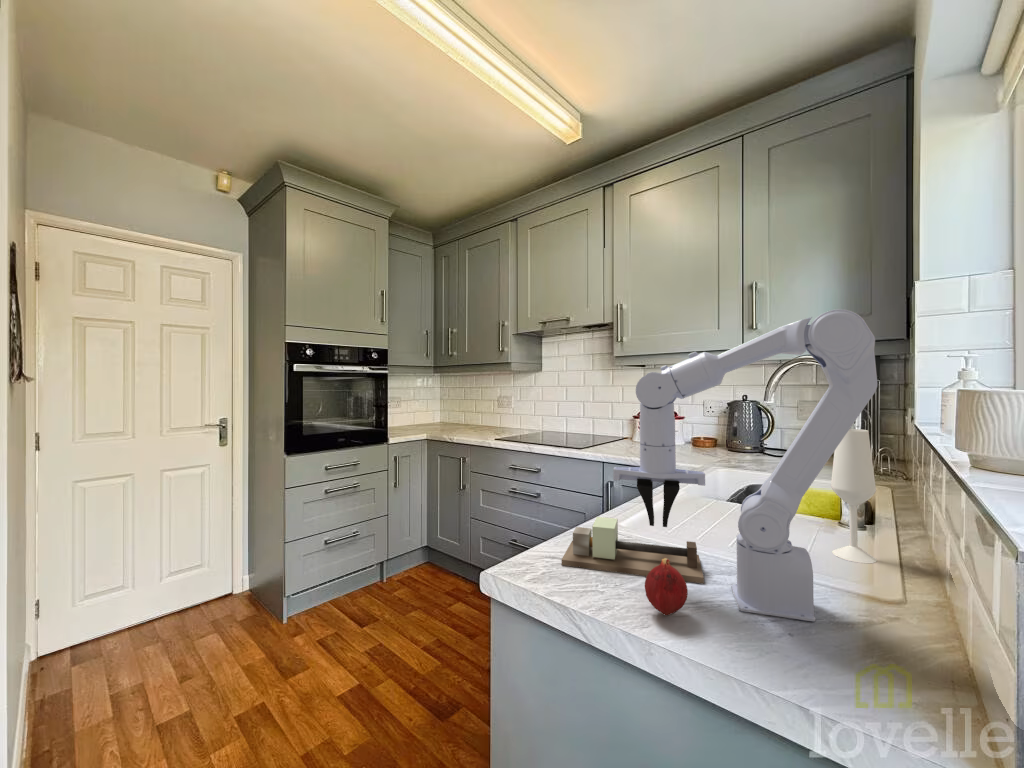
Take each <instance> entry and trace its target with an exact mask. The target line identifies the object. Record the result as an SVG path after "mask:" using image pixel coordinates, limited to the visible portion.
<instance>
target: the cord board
mask: <svg viewBox="0 0 1024 768" xmlns="http://www.w3.org/2000/svg"><path fill="white" fill-rule="evenodd" d="M616 549H617V553H616V557H615V560H614V559H606V558H598V557H593V544H592V528H591V527H590V528H589V527H580V526H575V529H574V530H573V531H572V541H570V544H569V546H568V547H567V549H566V551H565V553H564V554H563V556H562V558H561V566H565V567H572V568H573V567H574V568H582V569H589V570H597V571H605V572H612V573H620V574H628V575H633V576H634V575H635V576H643V577H647V575H648V573H649V572H650V571H651V570H652V569H653V568H654V567H656V566H658V565H660V564H661V562H662V559H664V558H667V559H668V560H670V562H669V563H670V565H671V566H672V567H674V568H675V569H676V570H677V571H678V572H679V573H680V574H681V575H682V577H683V578H684V580H685V582H686V583H694V584H695V583H696V584H705V583H704V582H705V581H704V580H705V579H704V578H705V577H704V573H703V569H702V564H701V560H700V556H699V554H698V547H697V544H696V542H695V541H689V540H687V541H686V547H677V546H676V547H675V546H667V545H657V544H650V543H648V544H647V543H639V542H629V541H620V540H618V541H616Z"/></svg>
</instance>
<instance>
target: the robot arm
mask: <svg viewBox="0 0 1024 768" xmlns="http://www.w3.org/2000/svg"><path fill="white" fill-rule="evenodd" d="M812 318H813V316H810V317H807V318H806V317H805V318H801V319H799V320H797V321H794V322H791V323H788V324H784V325H781V326H779V327H777V328H775V329H773V330H770V331H768V332H766V333H764V334H761V335H759V336H757V337H755V338H753V339H751V340H747V341H746V342H744V343H741V344H740V345H737V346H735V347H732V348H731V349H727V350H726V351H723V352H722V353H720V354H717V355H716V354H713V353H710V352H708V351H707V352H706V351H703V352H700V353H698V351H694V352H690V353H689V354H687V356H688V358H686V359H684V360H681V361H679V362H677V363H675V364H672V365H669V366H668V365H666V364H665V365H662V366H660V371H661V373H660V372H657V371H649V372H647V373H646V374H645V375H643V376H642V377H641V378H640V379H639V380H638V381H637V383H636V386H635V395H636V398H637V400H638V401H639V466H630V467H629V466H627V467H626V466H623V467H622V466H614V467H613V471H612V472H613V473H612V475H613V478H612V479H613V481H621V480H624V481H636V489H637V490H638V492H639V493H638V494H640V497H641V499H642V501H643V504H644V506H645V509H646V512H647V516H648V523H649V526H650V527H654V526H655V511H654V503H653V501H654V499H653V498H654V496H653V495H654V491H653V490H654V489H653V488H654V487H653V486H654V484H653V483H654V482H658V483H662V484H663V506H662V507H663V509H662V510H663V511H662V527H663V528H668V522H669V516H670V512H671V510H672V507H673V505H674V502H675V500H676V497H678V495H679V492H680V489H681V487H680V484H687V485H688V484H690V485H697V486H706V473H705V471H700V470H699V471H698V470H691V469H690V470H689V469H680V468H677V467H676V466H677V463H676V462H677V461H676V459H677V458H676V457H677V456H676V455H677V454H676V453H677V450H676V449H677V448H676V417H675V403H674V402H675V401H676V400H677V398H678V399H680V400H683V399H686V398H688V397H691V396H694V395H697V394H699V393H703V392H704V391H707V390H710V389H711V388H715V387H717V386H720V385H721V384H722V382H723V380H724V377H725V375H726V374H727V373H729V372H732V371H735V370H738V369H740V368H743V367H746V366H749V365H751V364H755V363H757V362H759V361H763V360H766V359H769V358H771V357H774V356H776V355H781V354H782V355H784V354H785V355H799V356H800V355H803V354H804V353H806V351H807V353H808V354H809V355H810V356H811V357H812V358H813V359H814V360H815V361H816V362H817V363H818V364H819V365H820V367H821V370H822V372H823V374H824V376H825V379H826V381H827V384H828V387H827V390H826V391H825V392H824V393H823V395H822V397H821V398H820V400H819V401H818V403H817V404H816V406H815V407H814V409H813V411H812V412H811V413H810V415H809V417H808V418H807V420H806V421H805V422H804V424H803V426H802V427H801V428H800V430H799V432H798V433H797V435H796V436H795V438H794V439H793V441H792V442H791V444H790V445H789V446H788V448H787V450H786V451H785V453H784V454H783V456H782V457H781V459H780V460H779V462H778V464H777V465H776V467H774V470H773V471H772V473H771V474H770V476H769V477H767V479H766V480H765V481H764V482H763V483H762V485H761V486H760V488H759V489H758V490H756V491H755V492H754V493H752V494H749V495H748V496H746V497H745V498H744V499H743V501H742V502H741V506H740V516H739V517H738V521H737V527H738V531H739V534H737V535H736V583H732V584H731V585H730V588H731V590H732V594H733V596H734V600H735V602H736V605H737V606H736V607H737V608H738V610H739V611H740V612H745V613H752V614H759V615H766V616H773V617H780V618H786V619H787V618H788V619H793V620H801V621H805V622H807V621H808V622H816V617H815V614H814V612H815V611H814V610H815V609H814V608H815V607H814V605H815V604H814V570H813V563H812V559H811V556H810V553H809V551H808V550H807V549H806V548H805V547H802V546H801V547H800V546H795V545H793V544H792V541H791V540H789V539H790V528H791V527H790V525H791V522H792V520H793V519H794V517H795V516H796V514H797V512H798V510H799V507H800V504H801V502H802V499H803V498H804V496H805V494H806V493H807V491H808V490H809V488H810V487H811V485H812V484H813V482H814V481H815V480H816V479H817V477H818V475H819V474H820V472H821V471H822V470H823V468H824V467H825V465H826V464H827V462H828V461H829V459H830V458H831V457H832V455H834V451H835V449H836V448H837V446H838V445H839V444H840V442H841V441H842V439H843V438H844V436H845V435H846V433H847V432H848V431H849V429H852V427H853V425H854V423H855V422H856V420H857V419H858V418H859V416H860V415H861V413H862V412H863V410H864V409H865V408H866V406H867V404H868V403H869V402H870V400H871V399H872V398H873V396H874V395H875V393H876V391H877V388H878V375H877V374H878V373H877V365H876V355H875V354H876V353H875V345H876V336H875V335H874V333H873V332H872V330H871V329H870V327H869V326H868V324H867V323H866V320H864V318H863V317H862V316H860V315H859V314H858V313H856V312H854V311H853V310H850V309H849V310H848V309H844V308H835V309H832V310H831V309H830V310H828V311H825V312H822V313H821V314H819V315H818V316H816V317H815V318H814V320H813V321H811V320H812ZM810 322H811V323H810ZM809 323H810V324H809Z"/></svg>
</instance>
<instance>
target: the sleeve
mask: <svg viewBox="0 0 1024 768" xmlns="http://www.w3.org/2000/svg"><path fill="white" fill-rule="evenodd" d="M618 521H619V520H618V518H615V517H614V518H613V517H612V518H611V517H603V516H596V518H595V519H594V522H593V525H592V526H591V527H592V528H591V531H592V544H593V557H598V558H606V559H614V560H615V557H616V553H617V549H616V541H619V535H618V534H619V522H618Z"/></svg>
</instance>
